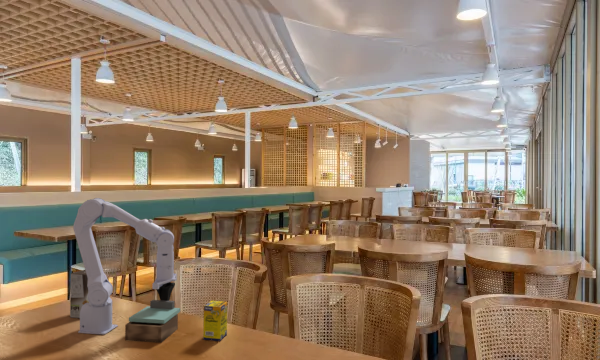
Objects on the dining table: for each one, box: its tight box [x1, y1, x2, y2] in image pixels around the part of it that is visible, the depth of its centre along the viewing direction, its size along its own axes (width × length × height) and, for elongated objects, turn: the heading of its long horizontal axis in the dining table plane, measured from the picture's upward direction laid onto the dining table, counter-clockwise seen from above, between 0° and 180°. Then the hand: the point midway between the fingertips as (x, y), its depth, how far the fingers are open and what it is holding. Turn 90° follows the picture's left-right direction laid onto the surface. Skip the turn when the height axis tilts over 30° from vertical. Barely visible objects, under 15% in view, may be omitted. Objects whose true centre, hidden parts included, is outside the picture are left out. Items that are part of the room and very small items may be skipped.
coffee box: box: [69, 269, 89, 319], centre depth 156 cm, size 9×6×16 cm
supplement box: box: [202, 300, 228, 342], centre depth 135 cm, size 6×6×11 cm
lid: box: [128, 299, 181, 324], centre depth 139 cm, size 12×12×4 cm
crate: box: [124, 313, 179, 344], centre depth 137 cm, size 12×12×5 cm
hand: (164, 304), depth 146 cm, fingers closed
